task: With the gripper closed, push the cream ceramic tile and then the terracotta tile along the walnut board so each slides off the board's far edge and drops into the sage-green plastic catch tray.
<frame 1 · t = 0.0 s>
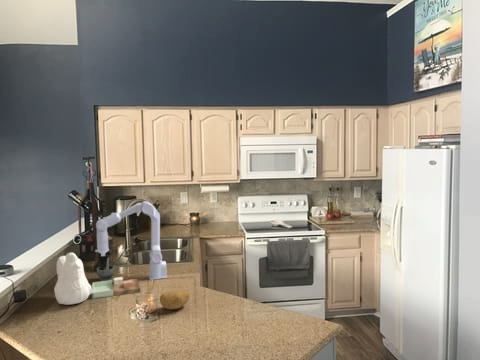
hand: (103, 266, 208), 10 cm above the worktop, tool pointing down, fingers open, 7 cm apart
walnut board: (126, 288, 201), on the worktop
terracotta tile: (128, 285, 199), point 2 cm above the worktop, touching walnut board
mortar and pestle: (106, 279, 217), on the worktop
cream tile: (118, 282, 205), point 2 cm above the worktop, touching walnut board
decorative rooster: (72, 300, 187), on the worktop
potato: (175, 308, 173), on the worktop
catch tray: (102, 291, 197), on the worktop
owl: (104, 269, 238), on the worktop
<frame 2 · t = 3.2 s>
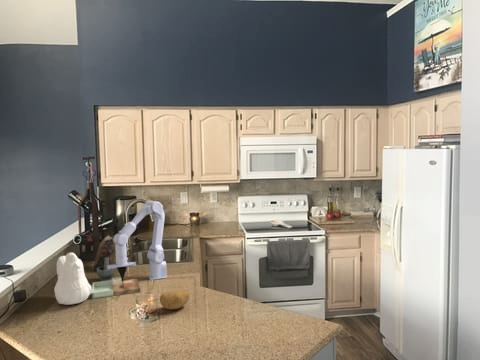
hand: (122, 280, 205), 3 cm above the worktop, tool pointing down, fingers closed, pressing on cream tile
cream tile: (117, 282, 204), point 2 cm above the worktop, touching catch tray, gripper, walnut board
everything else where it was.
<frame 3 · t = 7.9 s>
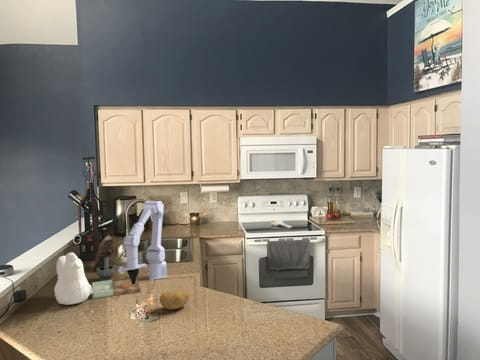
hand: (133, 283, 200), 3 cm above the worktop, tool pointing down, fingers closed
terracotta tile: (126, 286, 199), point 2 cm above the worktop, touching gripper
cream tile: (99, 291, 196), point 1 cm above the worktop, touching catch tray
everything else where it was.
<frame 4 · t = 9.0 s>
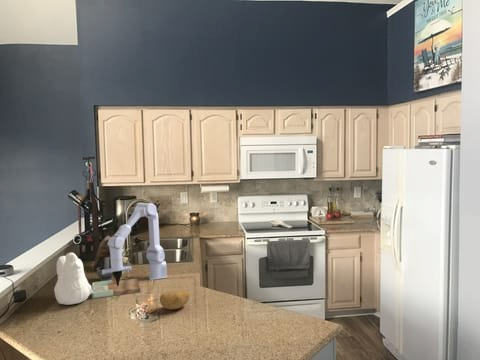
hand: (117, 285, 197), 3 cm above the worktop, tool pointing down, fingers closed
terracotta tile: (112, 287, 197), point 2 cm above the worktop, tilted 8°, touching gripper, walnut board
everything else where it was.
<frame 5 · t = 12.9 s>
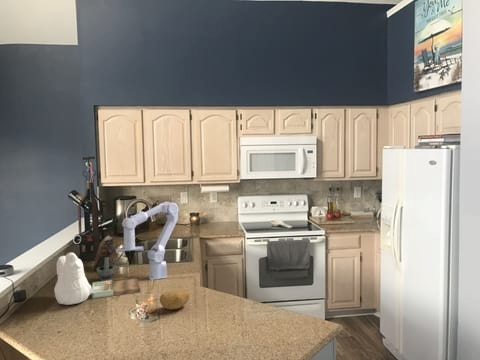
hand: (130, 264, 209), 10 cm above the worktop, tool pointing down, fingers closed
terracotta tile: (109, 286, 196), point 3 cm above the worktop, tilted 72°, touching catch tray, cream tile
cream tile: (98, 291, 196), point 1 cm above the worktop, touching catch tray, terracotta tile
everything else where it was.
at the end: cream tile inside the target area (1.1 cm from its centre), point 0.6 cm above the worktop; terracotta tile inside the target area (4.5 cm from its centre), point 2.7 cm above the worktop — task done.
